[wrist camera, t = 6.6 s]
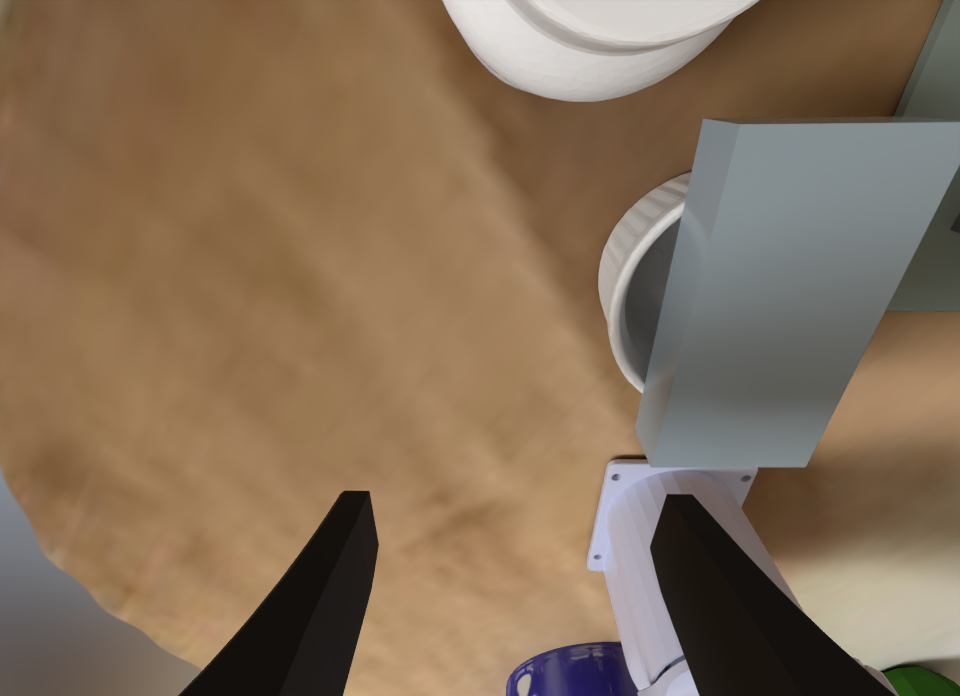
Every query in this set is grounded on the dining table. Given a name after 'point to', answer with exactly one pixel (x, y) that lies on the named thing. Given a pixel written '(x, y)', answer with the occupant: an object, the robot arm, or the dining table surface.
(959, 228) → the dark grey rectangular block
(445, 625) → the dining table surface
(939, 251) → the mat
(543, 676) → the dog bowl
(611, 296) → the ramekin
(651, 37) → the pill bottle
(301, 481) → the dining table surface
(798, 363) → the tile
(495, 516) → the dining table surface
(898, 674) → the bell pepper
